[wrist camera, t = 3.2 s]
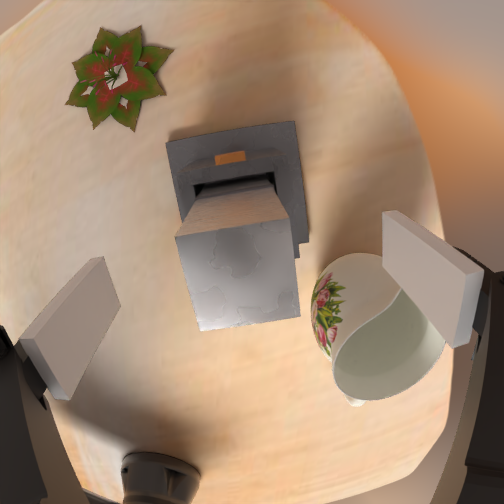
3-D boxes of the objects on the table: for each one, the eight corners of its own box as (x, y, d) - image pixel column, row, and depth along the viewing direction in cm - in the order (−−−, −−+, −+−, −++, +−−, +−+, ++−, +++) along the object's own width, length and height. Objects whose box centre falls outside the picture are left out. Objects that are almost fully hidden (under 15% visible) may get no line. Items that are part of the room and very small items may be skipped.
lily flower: (143, 151, 30) (129, 155, 25) (52, 114, 27) (29, 114, 23) (196, 43, 26) (190, 30, 22) (98, 14, 24) (80, 1, 19)
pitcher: (290, 353, 39) (308, 442, 26) (310, 210, 32) (355, 265, 19) (370, 351, 39) (409, 428, 26) (404, 218, 33) (480, 269, 20)
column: (219, 221, 31) (198, 333, 14) (210, 173, 29) (171, 235, 12) (268, 213, 31) (303, 317, 14) (261, 164, 29) (291, 214, 12)
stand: (192, 257, 33) (177, 304, 25) (167, 142, 29) (138, 148, 20) (307, 238, 33) (331, 279, 24) (292, 121, 29) (315, 117, 20)
